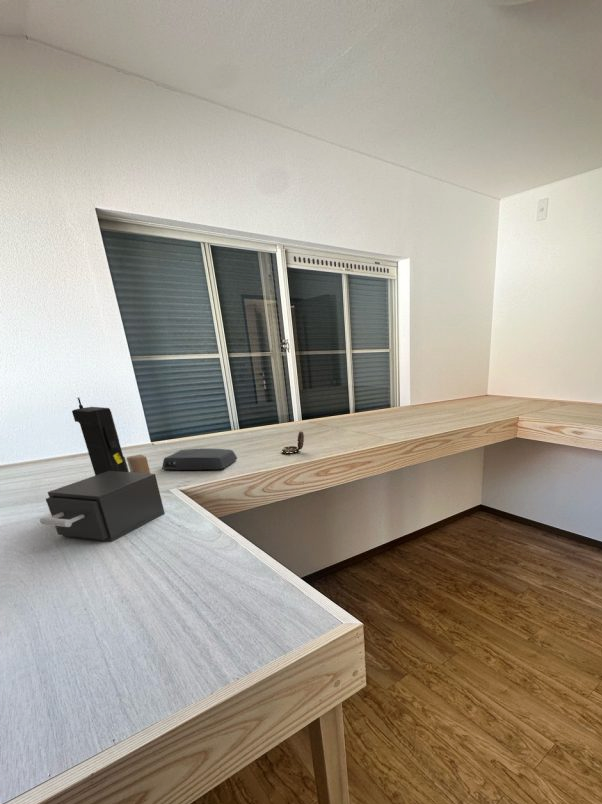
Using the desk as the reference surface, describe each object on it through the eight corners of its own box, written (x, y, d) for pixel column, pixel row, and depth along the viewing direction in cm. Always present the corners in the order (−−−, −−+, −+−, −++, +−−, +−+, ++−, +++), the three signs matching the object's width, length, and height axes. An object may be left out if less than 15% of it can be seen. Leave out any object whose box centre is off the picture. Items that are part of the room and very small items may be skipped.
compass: (284, 449, 149) (281, 429, 146) (305, 449, 149) (304, 429, 146) (278, 455, 142) (275, 434, 139) (301, 455, 141) (298, 434, 138)
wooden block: (133, 484, 116) (125, 456, 112) (148, 481, 118) (141, 453, 115) (137, 487, 113) (130, 459, 110) (153, 484, 116) (146, 456, 112)
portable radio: (141, 497, 106) (115, 396, 96) (118, 505, 101) (88, 400, 91) (121, 493, 109) (93, 395, 99) (98, 501, 104) (67, 398, 94)
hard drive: (182, 459, 139) (180, 447, 137) (238, 459, 138) (237, 447, 136) (161, 471, 127) (158, 458, 125) (222, 471, 126) (220, 458, 124)
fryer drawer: (84, 549, 78) (71, 511, 75) (37, 543, 80) (23, 506, 77) (154, 513, 93) (146, 480, 90) (113, 509, 96) (103, 477, 93)
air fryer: (112, 541, 83) (98, 496, 79) (62, 535, 86) (47, 492, 82) (164, 513, 96) (155, 473, 92) (120, 509, 99) (109, 470, 95)
